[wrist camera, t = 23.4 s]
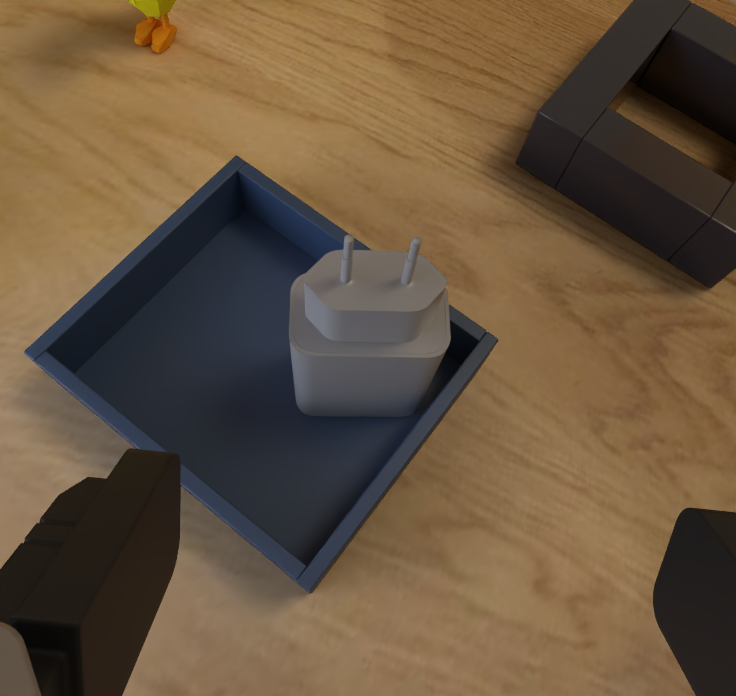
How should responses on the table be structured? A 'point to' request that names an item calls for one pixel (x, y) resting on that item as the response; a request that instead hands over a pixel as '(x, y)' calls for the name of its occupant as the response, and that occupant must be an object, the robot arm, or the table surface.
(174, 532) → the robot arm
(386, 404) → the power adapter
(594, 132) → the block
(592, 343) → the table surface
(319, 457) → the basin
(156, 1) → the toy figure
